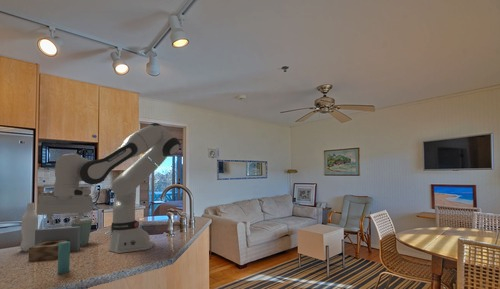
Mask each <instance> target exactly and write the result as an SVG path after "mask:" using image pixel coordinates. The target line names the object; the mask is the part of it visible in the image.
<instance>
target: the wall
mask: <svg viewBox="0 0 500 289" xmlns="http://www.w3.org/2000/svg"><path fill="white" fill-rule="evenodd" d="M80 228H81V226H78V227H72V226H66V227H65V226H63V227H47V228H38V229H37V230H35V245H36V244H38V243H41V242H43V241H54V240H69V241H70V252H75V251H76V252H77V251H79V250H80V249H81V246H80Z"/></svg>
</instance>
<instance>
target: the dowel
mask: <svg viewBox="0 0 500 289" xmlns="http://www.w3.org/2000/svg"><path fill="white" fill-rule="evenodd" d="M70 256H71V251H70V241H65V242H60V243H59V248H58V259H57V274H58V275H64V274H67V273H69V271H70V260H71V258H70Z"/></svg>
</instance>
